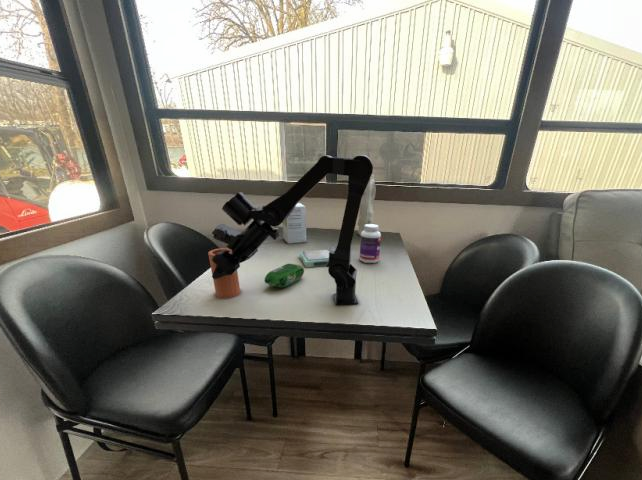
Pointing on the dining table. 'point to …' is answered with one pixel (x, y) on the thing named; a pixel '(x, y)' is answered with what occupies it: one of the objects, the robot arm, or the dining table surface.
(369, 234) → the pill bottle
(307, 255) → the scale
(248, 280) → the dining table surface
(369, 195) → the vase
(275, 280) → the snack package
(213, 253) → the jar
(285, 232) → the supplement box
